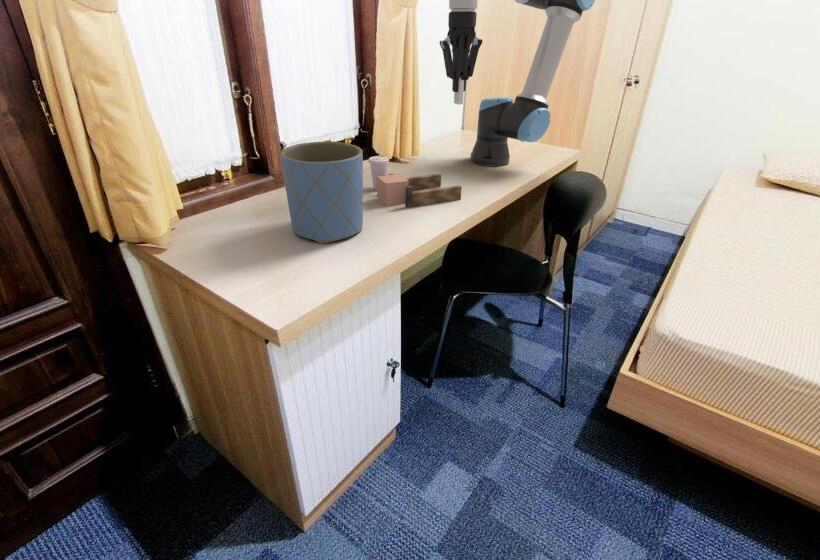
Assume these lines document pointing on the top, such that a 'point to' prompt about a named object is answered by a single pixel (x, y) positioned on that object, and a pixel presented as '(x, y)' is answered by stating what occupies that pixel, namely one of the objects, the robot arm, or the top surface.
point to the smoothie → (378, 167)
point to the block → (391, 189)
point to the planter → (324, 189)
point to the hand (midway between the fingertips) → (458, 103)
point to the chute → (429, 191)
